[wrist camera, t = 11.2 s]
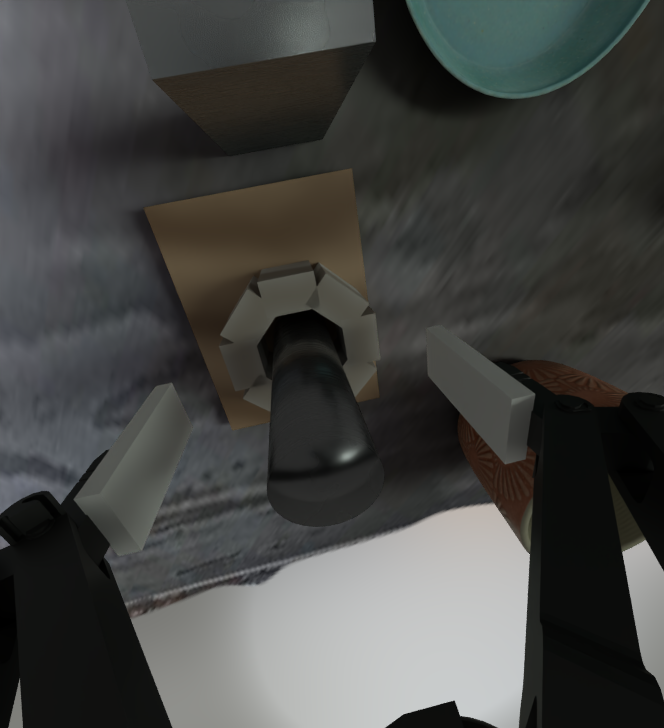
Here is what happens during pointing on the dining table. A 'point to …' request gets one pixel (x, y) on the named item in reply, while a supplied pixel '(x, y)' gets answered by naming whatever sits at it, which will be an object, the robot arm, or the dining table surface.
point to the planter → (514, 480)
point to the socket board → (249, 245)
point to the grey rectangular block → (256, 64)
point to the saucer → (521, 40)
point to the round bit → (316, 430)
